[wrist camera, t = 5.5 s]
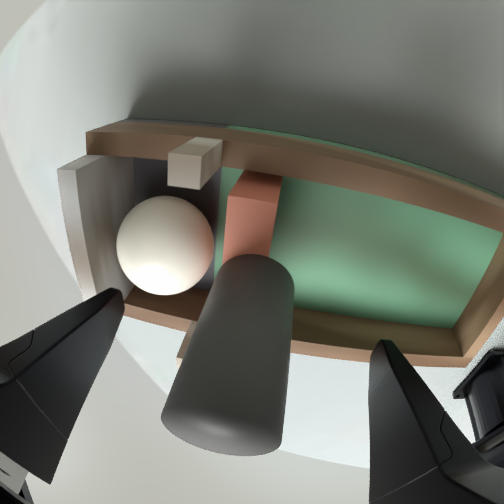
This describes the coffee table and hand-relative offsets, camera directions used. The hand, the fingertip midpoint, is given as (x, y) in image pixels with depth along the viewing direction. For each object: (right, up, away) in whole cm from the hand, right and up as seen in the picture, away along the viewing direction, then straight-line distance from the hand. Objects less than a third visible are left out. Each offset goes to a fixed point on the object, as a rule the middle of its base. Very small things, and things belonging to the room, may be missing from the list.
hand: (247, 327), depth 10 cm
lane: (+4, +3, +6) cm, 8 cm away
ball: (-4, +3, +4) cm, 6 cm away
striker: (+1, +3, +5) cm, 6 cm away
